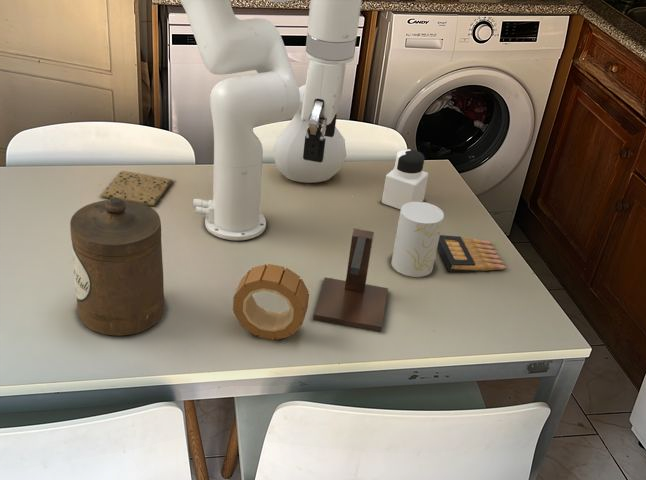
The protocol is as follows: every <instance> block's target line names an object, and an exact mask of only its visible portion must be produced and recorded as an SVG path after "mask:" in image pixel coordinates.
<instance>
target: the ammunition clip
mask: <svg viewBox="0 0 646 480" xmlns="http://www.w3.org/2000/svg"><path fill="white" fill-rule="evenodd" d="M493 244H494V243H493V242H492V241H489V240H484V239H477V238H471V237H470V238H469V237H461V236H460V235H459V236H457V235H446V234H440V237H439V242H438V246H437V250H438V253H439V255H440V256H441V258H442V261H443V263H444V265H445V267H446V268H447V271H448V272H464V273H469V272H470V273H471V272H472V273H473V272H474V271H483V272H486V271H500V270H505V269H507V268H508V267H507V266H506V265H503V264H504V263H505V261H503V260H501V259H502V257H501V256H499V255H498V254H499V252H498V251H496V250H495V249H496V246H493Z"/></svg>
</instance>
